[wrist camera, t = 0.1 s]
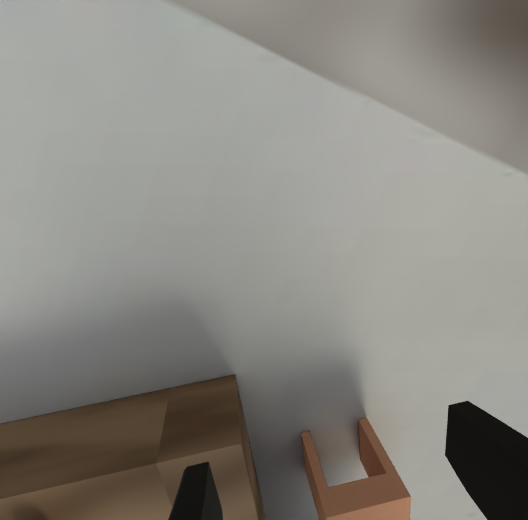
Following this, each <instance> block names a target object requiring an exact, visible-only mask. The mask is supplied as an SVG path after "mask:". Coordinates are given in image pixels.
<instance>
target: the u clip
mask: <svg viewBox="0 0 528 520" xmlns="http://www.w3.org/2000/svg"><path fill="white" fill-rule="evenodd" d="M301 437H302V445H303V452H304V460H305V467H306V474H307V477H308V481H309V485H310V488H311V492H312V495H313V499H314V503H315V506H316V510H317V513H318V517H319V520H410V504H411V496H410V494H409V492H408V491H407V489H406V487H405V485H404V484H403V482H402V480H401V478H400V476H399V475H398V473H397V471H396V469H395V467H394V466H393V464H392V462H391V460H390V459H389V457H388V455H387V453H386V451H385V450H384V448H383V446H382V444H381V442H380V441H379V439H378V437H377V435H376V434H375V432H374V430H373V428H372V426H371V425H370V423H369V421H368V419H367V418H363V419H359V438H360V458H361V462H362V464H363V466H364V468H365V471H366V473H367V475H368V477H369V478H365V479H361V480H357V481H353V482H349V483H345V484H341V485H337V486H333V487H329V488H328V486H327V483H326V480H325V477H324V474H323V471H322V468H321V465H320V462H319V459H318V456H317V453H316V450H315V447H314V444H313V441H312V438H311V435H310V432H309V431H307V432H303V433H301Z"/></svg>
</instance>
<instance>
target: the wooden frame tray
mask: <svg viewBox="0 0 528 520" xmlns="http://www.w3.org/2000/svg"><path fill="white" fill-rule="evenodd" d="M204 462H209V464H210V468H211V471H212V475H213V478H214V482H215V486H216V489H217V493H218V496H219V500H220V503H221V507H222V512H223V520H266V518H265V513H264V509H263V504H262V499H261V495H260V490H259V485H258V480H257V476H256V471H255V466H254V461H253V457H252V452H251V447H250V443H249V438H248V433H247V428H246V424H245V419H244V414H243V410H242V405H241V400H240V395H239V391H238V386H237V381H236V376H235V375H230V376H226V377H221V378H216V379H212V380H207V381H202V382H197V383H193V384H188V385H183V386H179V387H174V388H169V389H164V390H160V391H155V392H150V393H145V394H141V395H136V396H131V397H127V398H122V399H117V400H112V401H108V402H103V403H98V404H93V405H89V406H84V407H79V408H75V409H70V410H65V411H60V412H56V413H51V414H46V415H42V416H37V417H32V418H27V419H23V420H18V421H13V422H8V423H4V424H0V520H168V519H169V516H170V513H171V510H172V507H173V504H174V501H175V498H176V495H177V492H178V489H179V486H180V482H181V479H182V476H183V472H184V470H185V469H186V467H187V466H192V465H196V464H200V463H204Z"/></svg>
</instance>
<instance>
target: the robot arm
mask: <svg viewBox="0 0 528 520" xmlns="http://www.w3.org/2000/svg"><path fill="white" fill-rule="evenodd" d="M445 456H446V457H447V459H448V461H449V462H450V464H451V466H452V468H453V469H454V471H455V473H456V474H457V476H458V478H459V479H460V481H461V483H462V484H463V486H464V487H465V489H466V491H467V492H468V494H469V495H470V496H471V498H472V499H473V501H474V502H475V503H476V505H477V506H478V507H479V509H480V510H481V512H482V513H483V514H484V516H485V517H486V518H487V520H528V438H527V437H525V436H524V435H522V434H521V433H519V432H517V431H516V430H514V429H513V428H511V427H509V426H508V425H506V424H505V423H503V422H501V421H500V420H498V419H497V418H495V417H493V416H492V415H490V414H488V413H487V412H485V411H484V410H482V409H480V408H479V407H477V406H475V405H474V404H472V403H470V402H469V401H465V402H461V403H456V404H452V405H449V408H448V422H447V436H446V450H445ZM168 520H223V512H222V507H221V503H220V500H219V496H218V493H217V489H216V486H215V482H214V478H213V475H212V471H211V468H210V464H209V462H204V463H200V464H196V465H192V466H187V467H186V469H185V470H184V472H183V476H182V479H181V482H180V486H179V489H178V492H177V495H176V498H175V501H174V504H173V507H172V510H171V513H170V516H169V519H168Z"/></svg>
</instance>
